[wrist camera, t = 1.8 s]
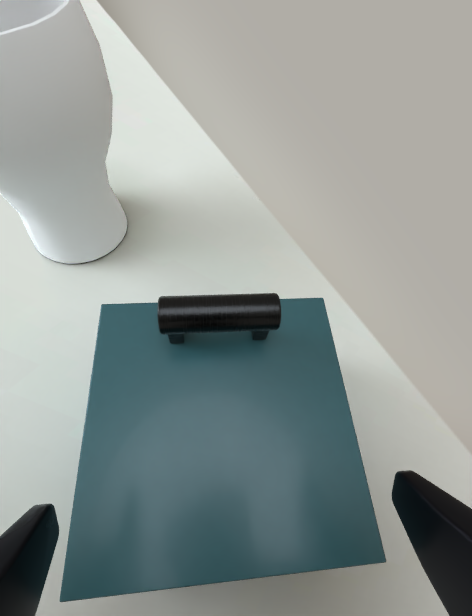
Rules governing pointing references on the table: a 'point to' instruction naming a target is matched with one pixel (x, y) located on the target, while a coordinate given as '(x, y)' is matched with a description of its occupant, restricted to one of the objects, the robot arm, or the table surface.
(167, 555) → the box lid
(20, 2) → the white vase
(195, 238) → the table surface
